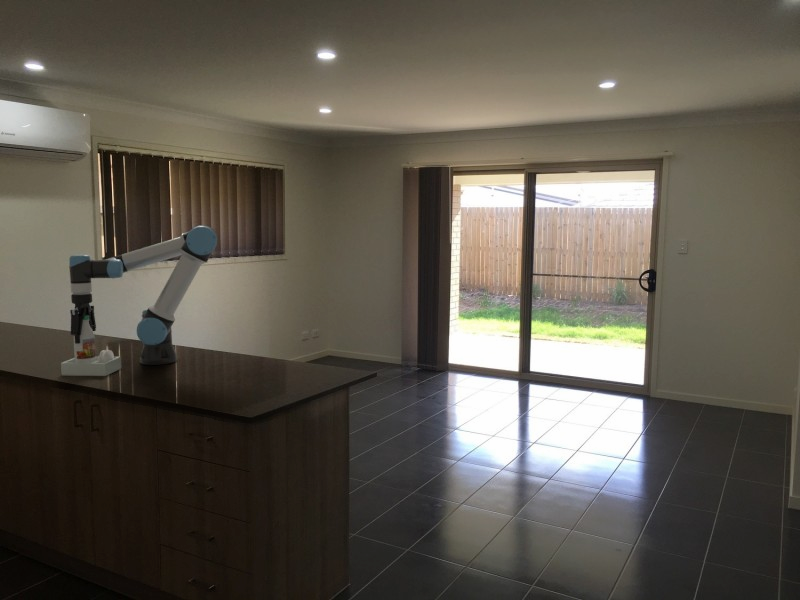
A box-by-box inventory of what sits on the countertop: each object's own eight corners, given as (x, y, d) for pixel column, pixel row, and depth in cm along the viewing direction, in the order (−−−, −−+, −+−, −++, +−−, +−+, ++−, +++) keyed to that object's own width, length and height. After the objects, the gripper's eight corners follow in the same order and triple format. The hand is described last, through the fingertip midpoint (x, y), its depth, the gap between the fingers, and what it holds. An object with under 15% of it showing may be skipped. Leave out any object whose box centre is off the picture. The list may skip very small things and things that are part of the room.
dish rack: (79, 367, 272) (78, 346, 271) (121, 368, 271) (120, 347, 270) (61, 375, 260) (60, 353, 258) (105, 375, 259) (104, 353, 257)
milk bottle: (70, 365, 262) (67, 316, 260) (83, 361, 270) (80, 313, 267) (87, 366, 261) (84, 317, 258) (100, 362, 268) (97, 314, 266)
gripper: (86, 290, 272) (89, 344, 275) (57, 296, 252) (61, 354, 254) (103, 290, 271) (106, 344, 274) (76, 296, 251) (80, 354, 254)
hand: (84, 349), depth 264 cm, fingers closed on milk bottle, 7 cm apart
